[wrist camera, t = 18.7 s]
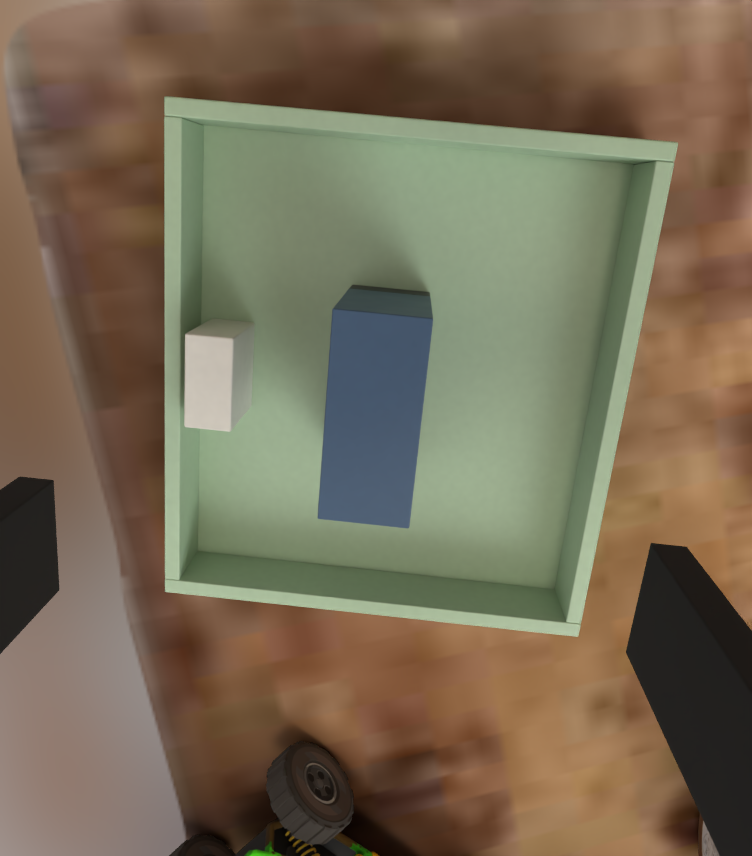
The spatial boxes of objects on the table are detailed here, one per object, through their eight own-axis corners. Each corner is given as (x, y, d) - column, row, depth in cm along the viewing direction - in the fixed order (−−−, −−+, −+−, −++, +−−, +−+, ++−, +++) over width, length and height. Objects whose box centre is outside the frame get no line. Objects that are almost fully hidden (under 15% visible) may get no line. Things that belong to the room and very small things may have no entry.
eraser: (351, 284, 32) (332, 308, 25) (430, 291, 32) (433, 318, 25) (338, 453, 34) (317, 519, 27) (411, 460, 34) (409, 529, 27)
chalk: (255, 322, 33) (211, 317, 33) (233, 338, 29) (184, 333, 29) (251, 406, 34) (210, 402, 34) (230, 432, 30) (183, 427, 30)
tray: (192, 107, 31) (163, 95, 27) (649, 148, 30) (679, 142, 27) (188, 556, 37) (164, 592, 34) (563, 596, 37) (578, 637, 33)
